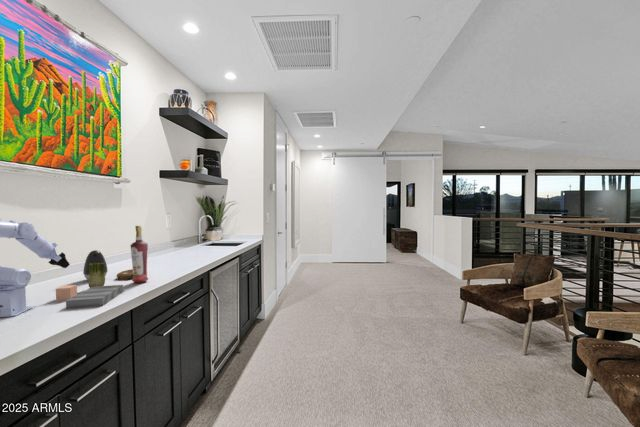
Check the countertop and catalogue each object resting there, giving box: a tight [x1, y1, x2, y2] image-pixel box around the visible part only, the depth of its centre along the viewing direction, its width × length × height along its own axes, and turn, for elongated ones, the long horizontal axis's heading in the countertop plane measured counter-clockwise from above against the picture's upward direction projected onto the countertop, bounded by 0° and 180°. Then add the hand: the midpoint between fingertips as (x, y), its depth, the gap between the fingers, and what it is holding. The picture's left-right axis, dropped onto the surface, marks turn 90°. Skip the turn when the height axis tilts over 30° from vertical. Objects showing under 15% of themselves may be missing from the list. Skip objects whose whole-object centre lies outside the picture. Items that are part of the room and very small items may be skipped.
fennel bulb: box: [88, 263, 106, 288], centre depth 140 cm, size 6×5×12 cm
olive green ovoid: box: [82, 249, 109, 281], centre depth 159 cm, size 10×10×15 cm
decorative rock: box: [116, 268, 133, 281], centre depth 164 cm, size 11×4×15 cm
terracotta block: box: [55, 284, 78, 302], centre depth 126 cm, size 5×5×5 cm
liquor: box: [130, 225, 149, 284], centre depth 151 cm, size 7×7×28 cm
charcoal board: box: [65, 284, 124, 310], centre depth 124 cm, size 20×12×3 cm, turn 14°
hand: (62, 262), depth 130 cm, fingers open, 7 cm apart
